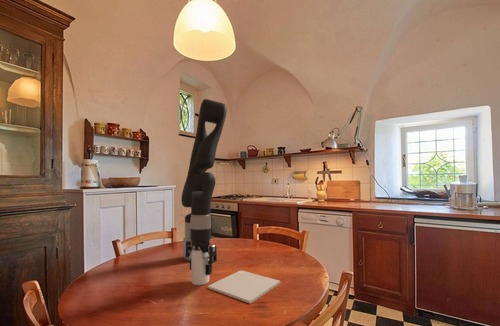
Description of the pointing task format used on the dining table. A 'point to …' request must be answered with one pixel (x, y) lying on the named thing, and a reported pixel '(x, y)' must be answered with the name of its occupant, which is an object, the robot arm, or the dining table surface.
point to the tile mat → (244, 286)
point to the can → (198, 268)
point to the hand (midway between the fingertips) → (200, 272)
